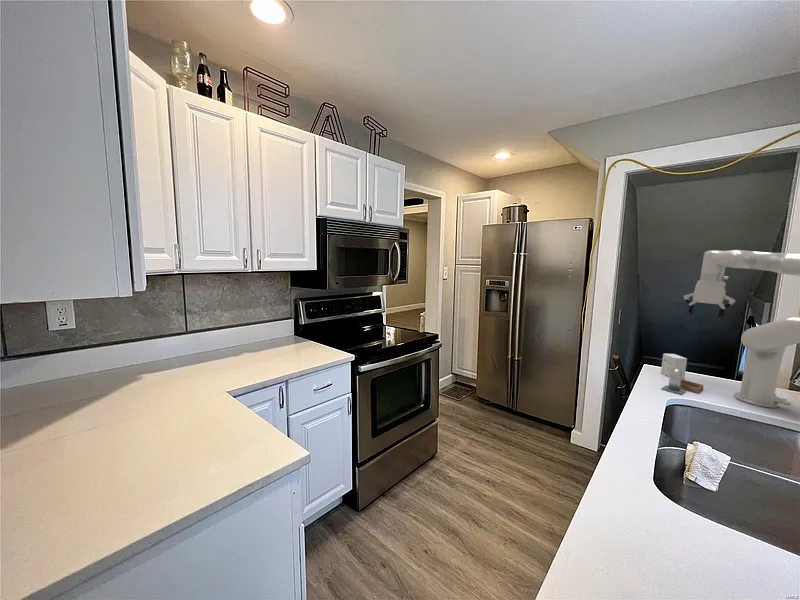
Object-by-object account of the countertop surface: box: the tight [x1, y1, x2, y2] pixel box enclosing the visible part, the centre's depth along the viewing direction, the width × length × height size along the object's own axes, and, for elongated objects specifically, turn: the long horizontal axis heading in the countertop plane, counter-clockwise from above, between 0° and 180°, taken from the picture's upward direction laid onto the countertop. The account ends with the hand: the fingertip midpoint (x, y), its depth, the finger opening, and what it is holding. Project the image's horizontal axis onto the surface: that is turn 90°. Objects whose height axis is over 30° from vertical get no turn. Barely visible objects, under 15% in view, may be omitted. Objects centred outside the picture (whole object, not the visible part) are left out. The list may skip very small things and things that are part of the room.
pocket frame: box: [680, 379, 705, 395], centre depth 147 cm, size 8×8×2 cm
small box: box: [660, 353, 688, 380], centre depth 162 cm, size 8×6×10 cm
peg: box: [668, 368, 683, 391], centre depth 143 cm, size 4×4×9 cm
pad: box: [660, 384, 687, 396], centre depth 143 cm, size 7×7×1 cm
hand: (705, 315), depth 149 cm, fingers open, 9 cm apart
